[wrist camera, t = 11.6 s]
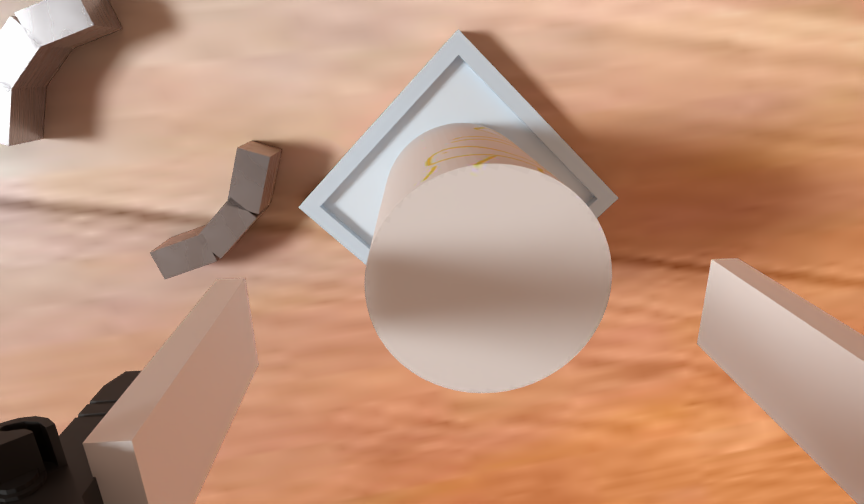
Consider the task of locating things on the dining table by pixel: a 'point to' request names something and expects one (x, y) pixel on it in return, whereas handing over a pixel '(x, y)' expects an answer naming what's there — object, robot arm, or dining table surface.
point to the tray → (431, 107)
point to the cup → (483, 263)
